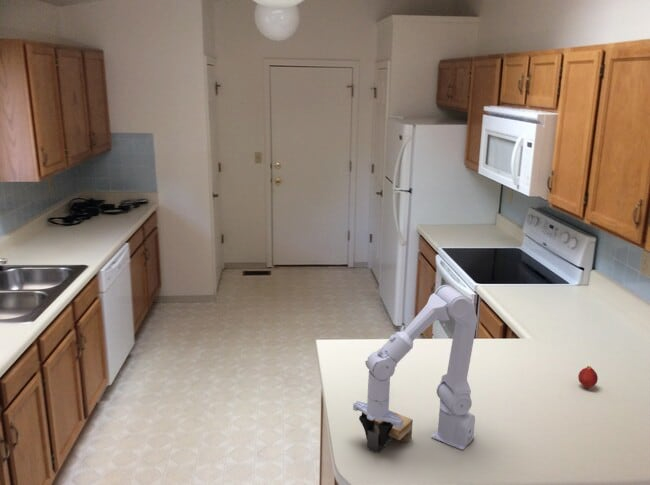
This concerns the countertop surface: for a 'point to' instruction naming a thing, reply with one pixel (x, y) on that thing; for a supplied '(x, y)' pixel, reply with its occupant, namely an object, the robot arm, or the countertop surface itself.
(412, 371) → the countertop surface
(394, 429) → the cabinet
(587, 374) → the onion
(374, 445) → the dark grey block
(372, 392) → the robot arm
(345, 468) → the countertop surface
